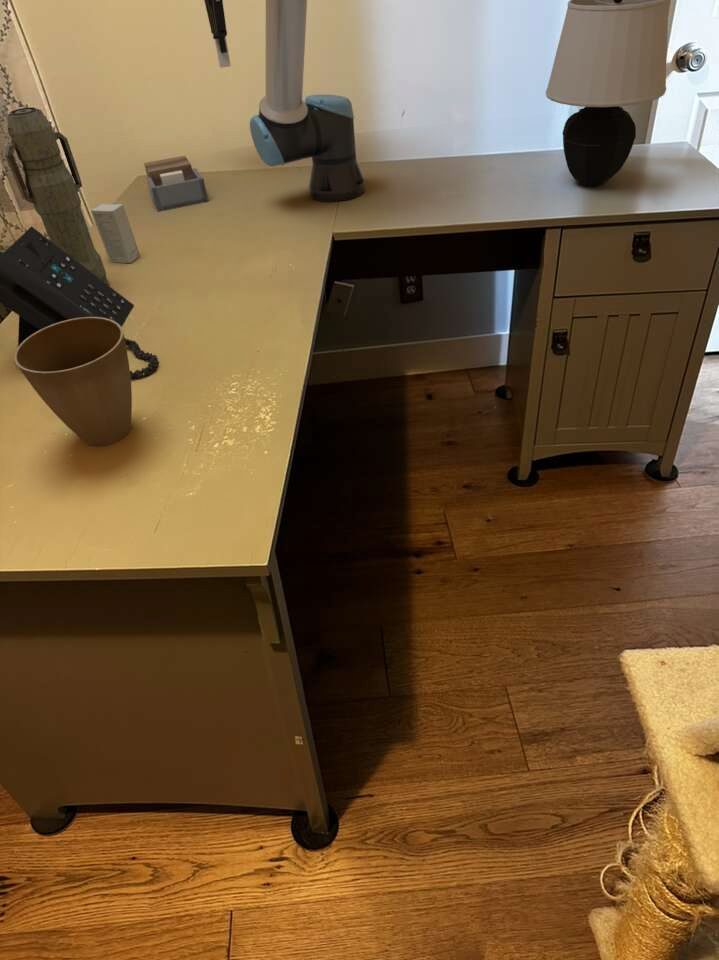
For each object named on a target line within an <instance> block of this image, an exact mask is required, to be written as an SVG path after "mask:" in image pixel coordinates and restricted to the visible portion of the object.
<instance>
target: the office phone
mask: <svg viewBox="0 0 719 960" xmlns="http://www.w3.org/2000/svg"><path fill="white" fill-rule="evenodd" d="M0 304H2V305H3V306H5V307H6V308H8V309H9V311H12V312H13V313H15V314H16V315H17V316H18V336H17V338H18V339H17V341H18V342H17V348H18V347H19V345H20V344H21V343H22V342H23V341H24V340H25V339H26V338H28V337H29V336H31V335H32V334H34V333H35V332H37V331H39V330H41V329H43V328H45V327H47V326H50V325H52V324H55V323H58V322H61V321H65V320H69V319H74V318H82V317H102V318H107V319H110V320H113V321H115V322H116V323H118V324H119V325H120V326H121V327H122V326H123V324H124V322H125V321H126V319H127V318H128V316H129V314H130V313H131V311H132V310H133V308H134V306H135V305H134V304H133V303H132V302H130V301H129V300H128V299H127V298H125V297H124V296H123V295H121V294H120V293H119V292H118V291H116V290H115V289H114V288H112V287H111V286H110V285H109V286H108V285H107V284H106V283H105V282H103V281H102V280H101V279H99V278H98V277H97V276H95V275H94V274H93V273H92V272H90V271H89V270H88V269H86V268H85V267H84V266H82V265H81V264H80V263H79V262H77V261H76V260H75V259H73V258H72V257H71V256H69V255H68V254H67V253H66V252H64V251H63V250H62V249H60V248H59V247H58V246H56V245H55V244H54V243H53V242H51V241H50V239H49V238H47V237H46V236H45V235H44V234H43V233H41V232H39V230H37V229H36V228H35V227H33V226H30V227H29V228H28V229H27V230H26V231H25V232H24V233H23V234H22V235H21V236H19V238H17V240H15V241H14V242H13V243H12V244H11V245H10V246H9V247H8V248H7V249H6V250H5V251H4V252H3V251H0ZM124 338H125V344H126V347H127V348H130V350H131V352H132V353H133V354H134V355H135V356H136V357H137V358H138V359H140V360H145V361H147V362H149V363H148V364H147V366H145V368H144V367H142V368H141V370H139V369H136V370H135V371H134V372H133V371H132V370H130V377H131V380H136V379H137V380H138V379H140V378H144V377H147V376H151V375H153V373H154V372H156V371H157V369H158V365H159V364H160V362H159V360H158V356H157V355H156V354H153V352H152V353H150V352H148V351H147V352H145V351H144V350H142V349H141V347H140V346H139V344H138V343H137V341H136V340H132V339H130V338H127V337H124Z"/></svg>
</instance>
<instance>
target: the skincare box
mask: <svg viewBox="0 0 719 960" xmlns="http://www.w3.org/2000/svg"><path fill="white" fill-rule="evenodd" d="M90 212H91V215H92V217H93V221H94V223H95V226H96V228H97V231H98V234H99V237H100V240H101V242H102V245H103V248H104V249H105V253H106V256H107V259H108V261H109V263H123V264H132V262H134V261H135V260H137V259H138V258H139V257H140V256H141V254H140V252H139V247H138V245H137V243H136V240H135V239H136V238H135V237H134V233H133V230H132V228H131V224H130V221H129V218H128V215H127V212H126V209H125V206H124V204H123V203H100V204H99V205H97V206H96V207H94V208H92V209H90Z"/></svg>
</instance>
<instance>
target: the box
mask: <svg viewBox="0 0 719 960" xmlns="http://www.w3.org/2000/svg"><path fill="white" fill-rule="evenodd" d="M192 172H193V177H194V179H192V180H187V181H182V182H176V183H171V184H166V185H161V186H156V187H155V185H154V183H153V181H152V179H151V177H146V183H147V185H148V188H149V193H150V197H151V200H152V202H153V205H154V206H156V207H155V209H156V210H157V212H158V211H159V212H163V211H162V210H164V211H168V210H167V209H169V210H172V209H171V208H173V209H177V208H176V207H178V208H182V207H181V206H183V207H188V206H192V204H193V205H197V203H198V204H202V203H201V202H203V203H207V202H206V201H208V202H209V198H208V194H207V189H206V185H205V180H204V177H203V176H202V175H201V173H200V171H198V169H197V168H196V167H195V168H192ZM187 205H188V206H187Z"/></svg>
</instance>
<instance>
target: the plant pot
mask: <svg viewBox="0 0 719 960" xmlns="http://www.w3.org/2000/svg"><path fill="white" fill-rule="evenodd" d="M125 338H126V337H125V334H124V330H123V327H122V326H120V325H119V324H118V323H116V322H115V321H113V320H110V319H107V318H102V317H82V318H74V319H69V320H65V321H61V322H58V323H55V324H52V325H50V326H47V327H45V328H43V329H41V330H39V331H37V332H35V333H34V334H32V335H31V336H29V337H28V338H26V339H25V340H24V341H23V342H22V343H21V344H20V345H19V347H18V346H17V348H16V350H15V351H14V355H13V359H14V362H15V364H16V366H17V367H18V369H19V370H20V371H21V373H22V374H23V376H24V378H25V379H26V380H27V381H28V383H29V384H30V385H31V387H32V388H33V390H34V391H35V392H36V394H37V395H38V396H39V397H40V398H41V400H42V401H43V402H44V403H45V404H46V406H47V407H48V408H50V410H51V411H52V412H53V413H54V414H55V415H56V416H57V418H58V419H59V420H60V421H61V422H62V423H63V424H64V425H65V426H66V427H68V428H69V429H70V431H72V433H73V434H75V435H76V436H77V437H78V438H79V439H81V440H82V441H84V443H86V444H87V445H89V446H94V447H102V446H104V447H105V446H108V445H112V444H114V443H117V442H118V441H119V442H120V441H121V440H122V439H123V438H125V437H126V436H127V435H128V434H129V432H130V431H131V425H132V415H133V414H132V412H133V411H132V409H133V405H132V404H133V403H132V402H133V400H132V399H133V398H132V397H133V396H132V394H133V393H132V391H133V390H132V379H131V377H130V371H131V370H130V362H129V357H128V356H129V355H128V349H127V346H126V344H125Z"/></svg>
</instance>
